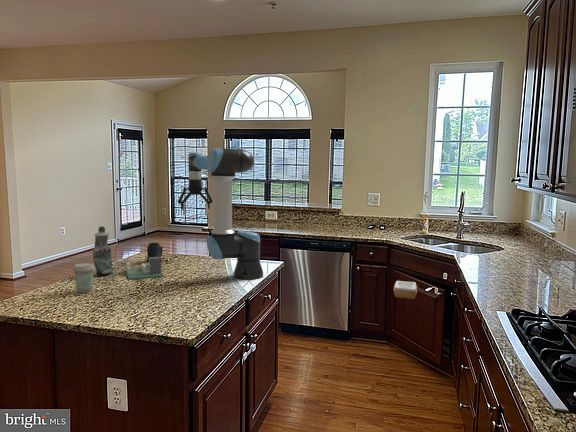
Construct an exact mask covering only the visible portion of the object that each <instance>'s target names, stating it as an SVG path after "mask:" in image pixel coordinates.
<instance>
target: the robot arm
mask: <svg viewBox="0 0 576 432" xmlns="http://www.w3.org/2000/svg"><path fill="white" fill-rule="evenodd" d="M187 157H188V158H187V159H188V163H187V164H188V187H185V186H184V187H182V192H181V194H180V196H179V198H178V201H177V203H178V204H180V210H181V211H182V216H186V204H185V202H187V200H189V198H190V197H191V196H200V197H201V198H202V199H203V200H204V202H205V215H207V216H208V215H209V210H210V207H211V206H210V205H211V204H212V203H213V200H214V203H213V204H214V205H213V206H214V207H213V210H214V211H213V214H214V215H213V216H214V218H213V220H214V221H213V222H214V223H213V225H214V228H213V230H211V232H210V235H209V236H207V239H206V248H207V251H208V254H209V256H210V257H211V258H212V259H213V260H225V259H226V260H227V259H235V258H237V260H236V263H235V267H234V269H233V270H234V271H233V278H235V279H237V280H245V281H252V280H258V279H261V278H263V277H264V270H263V268H262V267H263V266H262V263H261V236H260V234H259V233H257V232H253V231H245V230H238V231H237V232H236V231H235V230H234V229H233V227H232V226H233V179H235V177H236V174H241V173H242V174H243V173H247V172H249V171H251V169H252V168H254V165H255V157H254V156H253V154H252V153H251V152H249V151H248V150H246V149H242V148H222V147H220V148H219V147H218V148H216V147H215V148H212V149H211V150H210V151H209V153H208V155H202V153H201V152H189V153H188V156H187ZM203 170H207V171H208V173H209V174H210V177H211V178H212V179H213V180H214V181H213V183H214V185H213V186H214V188H213V191H214V192H213V193H214V195H213V196H214V197H213V199H212V197H211V195H210V193H209V191H208V187H206V186H205V187H202V186H203V185H202V184H203V183H202V182H203V180H202V178H203V177H202V175H203V174H202V171H203ZM187 191H188V193H187V195H185V194H186V192H187ZM202 191H203V192H204V193H205V195H204V194H203V193H202ZM184 196H185V197H184ZM207 198H208V199H207Z"/></svg>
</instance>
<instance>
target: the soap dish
mask: <svg viewBox="0 0 576 432" xmlns="http://www.w3.org/2000/svg"><path fill="white" fill-rule="evenodd" d="M393 294H394V296H395V298H398V299H410V300H415V298H416V296H417V294H418V285H417V283H416V282H415V281H402V280H396V281H395V283H394V286H393Z"/></svg>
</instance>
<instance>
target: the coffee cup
mask: <svg viewBox="0 0 576 432" xmlns="http://www.w3.org/2000/svg"><path fill="white" fill-rule="evenodd" d="M72 270H73V272H74V280H75V285H76V291H77V293H78V294H89V293H91V292H92V291H93V285H94V272H95V270H96V267H95V264H94V263H91V262H81V263H76V264H74V266H73V269H72Z"/></svg>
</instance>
